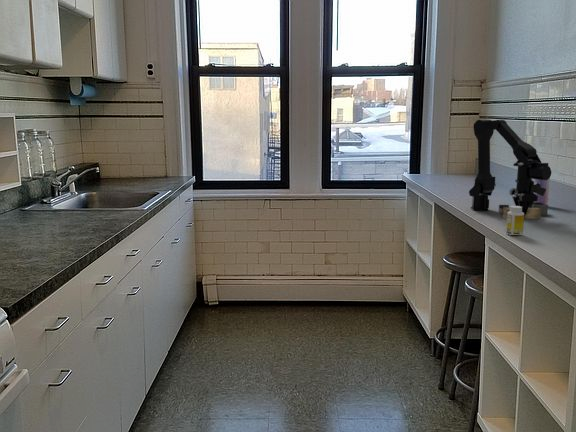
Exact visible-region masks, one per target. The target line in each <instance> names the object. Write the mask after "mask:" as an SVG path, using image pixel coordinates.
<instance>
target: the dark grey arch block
mask: <svg viewBox="0 0 576 432" xmlns="http://www.w3.org/2000/svg"><path fill="white" fill-rule="evenodd" d="M504 208H510V205H509V204H498V212H499V213H500V214H501V215H502V216H503V211H504Z"/></svg>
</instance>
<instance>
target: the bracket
mask: <svg viewBox="0 0 576 432" xmlns="http://www.w3.org/2000/svg"><path fill="white" fill-rule="evenodd" d="M528 208H539V209H541V215H540V217H541V216H545V217H547V216H548V208H549V204H548V205H547V204H545V203H543V202H532V203H531V204H530V205H529V207H528Z"/></svg>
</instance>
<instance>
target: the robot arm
mask: <svg viewBox="0 0 576 432" xmlns="http://www.w3.org/2000/svg"><path fill="white" fill-rule="evenodd" d="M494 131H496V132H497V133H498V134H499V135H500V136H501V137H502V138H503V139H504V141H506V142H507V144H508V145H509V146H510V148H511V149H512V153H513V155H514V157H515V159H517V161H516V162H515V163H513V164H512V165H513V167H517V173H516V179H514V181H515V183H516V187H513V188H510V190H509V195H510V196H511V198H512V200H513V203H514V206H521V207H522V211H521V212H523V213H524V216H525V215H526V212H527V210H528V207H529V205H530V204H531V203H532V202H534V201H538V196H537V195H536V194H534V193H537V194H539V195H541V196H544V194H545V192H546V190H547V189H545V188H542V187H541V185H540V184H538V183H535V181H534V180H535V179H539V180H548V179H549V178H550V179H551V176H552V169H551V167H550V166H549V163H548V162H542V160H541V158H540V157H539V155H538V153H537V152H538V151H537V149H536V148H535V147H534V146H532V145H531V144H530V143H528V142H525V141H524V140H522V138H521V137H520V136H519V135H518V134H517V132H515V131H514V130H513V128H511V126H509V124H508V123H507V121H506V120H504V119H495V120H491V119H477V120H475V122H474V123H473V133H474V136H475V138H476V140H477V163H478V167H477V168H478V170H477V171H478V172H477V175H476V177H475V179H474V185H473V187H471V188H470V190H469V191H468V193H469V194H468V195H469V196H470V197H471V198H472V199H471V206H470V209H471V210H473V211H489V208H490V199H489V197H490V196H492V194H493V191H494V190H495V188H496V186H497V184H496V176H493V175H492V174H491V139H492V137H493V136H494Z"/></svg>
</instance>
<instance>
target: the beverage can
mask: <svg viewBox="0 0 576 432" xmlns="http://www.w3.org/2000/svg"><path fill="white" fill-rule="evenodd" d="M534 180H535V181H534V184H535V183H538V184H540V185H541V187H542V188H545V189H547V190H546V192H545V194H544V196H541V195H539V194H537V193H534V194H536V195H537V196H538V201H534V202H543V203H545V204H547V205H548V206H549V204H548V203H549V193H550V180H551V177H550V178H549V179H548V180H539V179H534Z"/></svg>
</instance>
